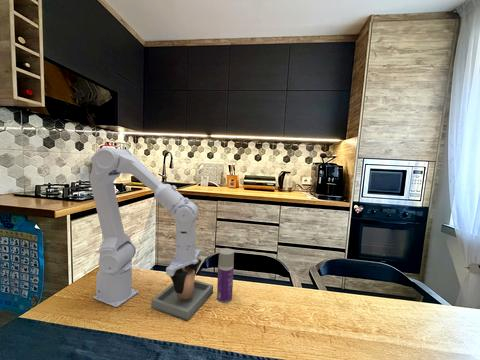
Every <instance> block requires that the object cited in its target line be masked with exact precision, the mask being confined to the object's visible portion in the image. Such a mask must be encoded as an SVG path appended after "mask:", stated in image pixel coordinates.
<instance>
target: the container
mask: <svg viewBox="0 0 480 360" xmlns="http://www.w3.org/2000/svg"><path fill="white" fill-rule="evenodd" d="M234 257H235V251H234V249H232V248H227V247H225V248H221V249H220V250H219V252H218V262H217V263H218V265H217V285H216V287H217V289H216V294H217V295H216V300H217V301H218V302H220V303H222V304H228V303H230V302H232V300H233V286H234V285H233V284H234V283H233V282H234V268H235V267H234V264H235V263H234V261H235V258H234Z"/></svg>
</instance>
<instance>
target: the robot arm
mask: <svg viewBox="0 0 480 360" xmlns="http://www.w3.org/2000/svg"><path fill="white" fill-rule="evenodd" d="M90 162H91V170H90V176H89V183H90V187H91V192H92V196H93V201H94V205H95V208H96V212H97V218H98V221H99V226H100V230H101V234H102V239H103V240H102V242H101V244H100V247H99V249H98V252H99V257H98V258H99V259H98V266H99V267H98V268H99V269H98V271H97V273H96V275H95V276H96V277H95V278H96V280H95V283H96V284H95V285H96V287H95V290H96V291H95V292H96V293H95V294H96V295H94V296H93V299H94V300H96V301H99V302H101V303H105V304H107V305H108V306H109V305H110V306H112V307H114V308H118V307H120V306H121V305H123V304H124V303H125V302H127V301H128V300H130V299H131V298H133V297H134V296H136V295H137V294H138V293H139V290H137V289H135V288H132V287H133V278H132V277H133V263H132V262H133V258H135V255H136V253H137V249H136V246H135V244H133V241H132V240H131V237H130V236H129V235H128V234H126V233H125V230H124V225H123V220H122V217H121V212H120V207H119V203H118V200H117V199H118V198H117V194H116V190H115V186H114V185H115V184H114V182H115V181H116V179H117V178H118V177H119V176H120V174H122V173H123V174H129V175H132V176H133V177H134V178H136V179H137V180H138V181H139V182H141V183H142V184H143V185H144V186H146V187H147V188H148V189H150V191H152V192H153V193H154V199H155V200H156V202H158V203H159V204H160V205H162V206H163V207H164V208H165V209H166V210H167V211H168V212H169V213H170V214H172V217H173V220H174V222H175V224H176V228H175V254H174V255H175V256H174V259H173V260H172V261H171V263H170V264H169V265H168V266H167V267H166V268H165V271H166V272H165V273H166V274H165V275H166V276H168V277H170V279H171V281H172V283H173V285H174V288H175V292H176V293H179V294H182V293H183V289H184V282H185V278H186V275H187V273H188V272H185V271H183V269H182V268H186V267H188V268H193V269H194V270H195V276H196V275H197V271H198V269H199V267H200V265H201V264H202V259H200V258H199V257H200V256H202V249H199V248H196V246H197V243H196V242H197V219H196V218H197V216H198V214H199V207H198V206H197V204H196V202H194V201H193V200H190V199H189V198H188V197H184V196H183V195H182V194H181V193H180V192H179V191H178V190H177V186H176V185H174V184H173V185H171V184H169V183H163V182H162V181H160V179H159V178H158V177H157V176H156V175H155V174H154V173H153V172H152V171H151V170H149V168H148V167H146V166H145V164H143V162H142V161H141V160H139V158H138V157H137V156H136V155H135V154H133V153H132V152H131V151H130V150H129V149H125V148H111V147H107V146H103V147H100V148H98V149H97V151H95V153H93V154H92V156H91V157H90ZM195 278H196V277H195ZM195 278H194V280H196V279H195Z"/></svg>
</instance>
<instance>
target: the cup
mask: <svg viewBox="0 0 480 360" xmlns="http://www.w3.org/2000/svg"><path fill="white" fill-rule="evenodd" d="M182 269H183V271H185V272H188V273H187V275H186V278H185V282H184V289H183V293H182V294H179V293H177V297H178V298H180V299H189V298H191V297H192V296H193V295H194V280H195V279H194V278H196V275H195V270H194V269H193V268H188V267H186V268H185V267H183V268H182Z"/></svg>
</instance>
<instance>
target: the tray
mask: <svg viewBox="0 0 480 360" xmlns="http://www.w3.org/2000/svg"><path fill="white" fill-rule="evenodd" d="M213 293H214V284H211V283H207V282H203V281H200V280H196V279H194V295H193V296H192V297H191V298H189V299H180V298H178V297H177V293H176V292H175V288H174V285H173V282H172V283H171V284H170V285H168V287H166V288H165V289H164V290H162V291H161V292H160V293H158V294H157V295H156V296H155V297H153V298H152V299H151V301H150V302H151V305H150V306H151V307H150V308H151V309H152V310H155V311H157V312H161V313H163V314H166V315H168V316H171V317H174V318H176V319H180V320H183V321H185V322H189V321H190V319H191V318H192V317H193V316H194V315H195V314H196V313H197V312H198V310H199V309H200V308H201V307H202V305H204V303H206V301H208V299H209V298H210V296H212V294H213Z"/></svg>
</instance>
